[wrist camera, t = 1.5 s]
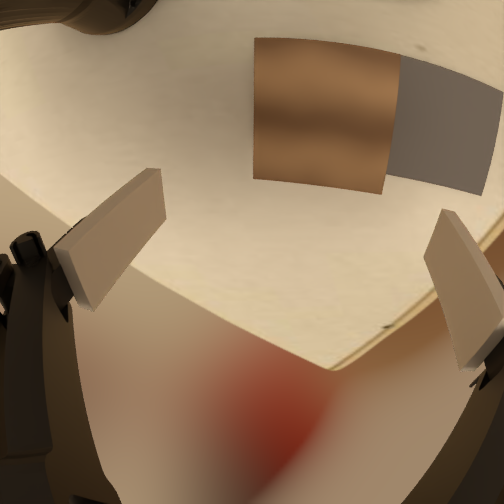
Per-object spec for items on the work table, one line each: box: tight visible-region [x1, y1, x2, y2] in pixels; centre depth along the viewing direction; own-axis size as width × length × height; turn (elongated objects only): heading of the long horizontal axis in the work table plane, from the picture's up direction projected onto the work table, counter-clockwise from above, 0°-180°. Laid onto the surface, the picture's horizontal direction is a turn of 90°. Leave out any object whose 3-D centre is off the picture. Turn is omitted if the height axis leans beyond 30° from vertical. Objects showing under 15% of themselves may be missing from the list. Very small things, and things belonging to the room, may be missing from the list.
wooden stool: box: [253, 38, 401, 195], centre depth 24 cm, size 12×11×10 cm
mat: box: [386, 55, 503, 196], centre depth 25 cm, size 14×14×1 cm
